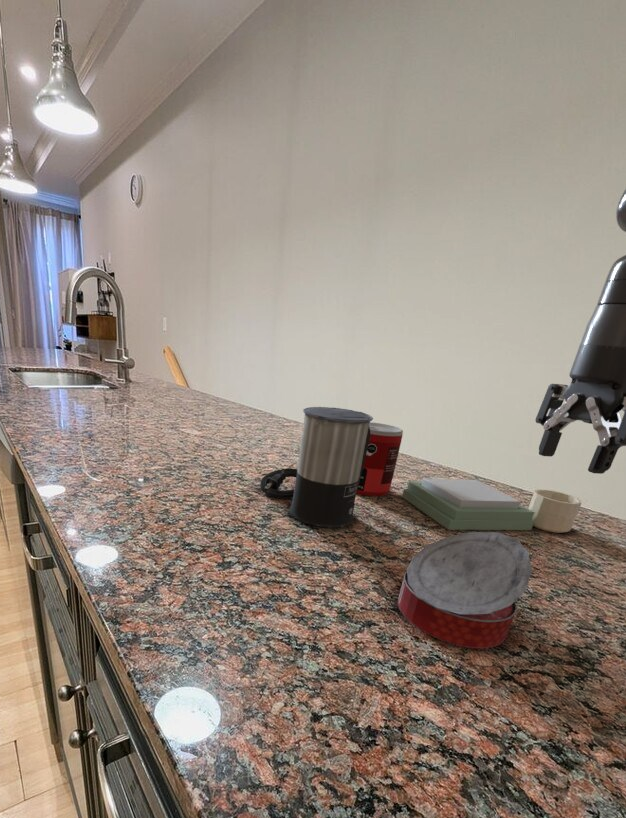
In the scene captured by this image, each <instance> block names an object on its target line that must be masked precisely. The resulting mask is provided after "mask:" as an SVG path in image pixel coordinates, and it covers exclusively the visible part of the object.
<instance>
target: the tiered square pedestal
mask: <svg viewBox="0 0 626 818" xmlns="http://www.w3.org/2000/svg"><path fill="white" fill-rule="evenodd" d="M421 482H422V486H424V487H425V488H427V489H429V490H430V491H432V492H433V493H435V494H437V495H438V496H440V497H442V498H443V499H445V500H447V501H448V502H450V503H451V504H453V505H455V506H456V507H458V508H492V509H518V508H519V505H521V500H519V499H517V498H515V497H513V496H510V495H508V494H506V493H504V492H502V491H500V490H498V489H496V488H494V487H492V486H490V485H488V484H486V483H483V482H482V481H480V480H478V479H467V478H465V479H463V478H461V479H460V478H433V477H432V478H431V477H430V478H429V477H423V478H422V481H421Z"/></svg>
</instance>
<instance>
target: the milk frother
mask: <svg viewBox="0 0 626 818" xmlns="http://www.w3.org/2000/svg"><path fill="white" fill-rule="evenodd" d="M302 412H303V413H304V417H303V425H302V432H301V433H302V434H301V439H300V446H299V447H300V448H299V455H298V462H297V468H292V467H289V468H287V467H286V468H280V469H276V470H273V471H271V472H268V473H266V474H265V475H264V476H263V477H262V478H261V479H260V482H259V487H260V489H261V491H262V492H263V493H265V494H266V495H267V496H270V497H273V498H277V499H290V498H292V500H291V505H290V507H289V508H288V511H289V514H290V515H291V517H293V518H294V519H295V520H297V521H299V522H301V523H303V524H306V525H310V526H313V527H317V528H318V527H320V528H325V529H340V528H344V527H348V526H350V525H351V524H352V523H353V522H354V511H355V501H356V495H357V494H356V491H357V488H358V486H359V482H360V478H361V474H362V470H363V466H364V462H365V457H366V453H367V449H368V445H369V441H370V427H369V423H370V422H372V421H373V419H374V417H373V416H372V415H370V414H368V413H366V412H363V411H359V410H358V411H357V410H352V409H348V408H347V409H346V408H341V407H328V406H311V407H306V408H303V409H302ZM286 478H295V484H294V488H293V489H288V490H279V488H280V487H281V486H282V484H283V483H284V481H285V480H286Z"/></svg>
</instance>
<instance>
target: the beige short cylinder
mask: <svg viewBox="0 0 626 818" xmlns="http://www.w3.org/2000/svg"><path fill="white" fill-rule="evenodd" d="M581 505H582V500H581V499H579V498H578V497H576V496H573V495H571V494H568V493H564V492H561V491H556V490H551V489H535V490H534V491H533V494H532V496H531V499H530V502H529V505H528V508H527V509H529V510H531V511H533V512H534V515H533V517H532V520H533V521H534V524H533V527H534V528H536V529H539V530H542V531H546V532H550V533H557V534H562V533H568V532H570V531H571V529H572V528H573V525H574V523H575V520H576V518H577V515H578V513H579V511H580V508H581Z"/></svg>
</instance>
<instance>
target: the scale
mask: <svg viewBox="0 0 626 818" xmlns="http://www.w3.org/2000/svg"><path fill="white" fill-rule="evenodd" d="M401 495H402V496H401V498H403V499H404V500H406V501H407V502H408V503H409V504H411V505H413V506H414V507H416V508H417V509H418V510H419V511H421V512H422V513H424V514H425V515H426V516H428V517H429V518H431V519H432V520H434V521H435V522H437V523H438V524H440V525H441V526H443V528H445V529H446V530H448V531H449V530H451V531H452V530H453V531H454V530H456V531H457V530H458V531H462V530H463V531H465V530H466V531H469V530H470V531H471V530H472V531H475V530H476V531H532V529H533V527H534V526H533V524H534V521H533V520H532V517H533V515H534V512H533V511H531V510H529V509H528V508H527V507H525V506H523V505H521V504H520V505H519V508H518V509H492V508H458V507H456V506H455V505H453V504H451V503H450V502H448V501H447V500H445V499H443V498H442V497H440V496H438V495H437V494H435V493H433V492H432V491H430V490H429V489H427V488H425V487H424V486H422V481H419V480H418V481H417V480H416V481H415V480H409V481H408V484H407V487H406V488H403V492H402V494H401Z"/></svg>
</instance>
